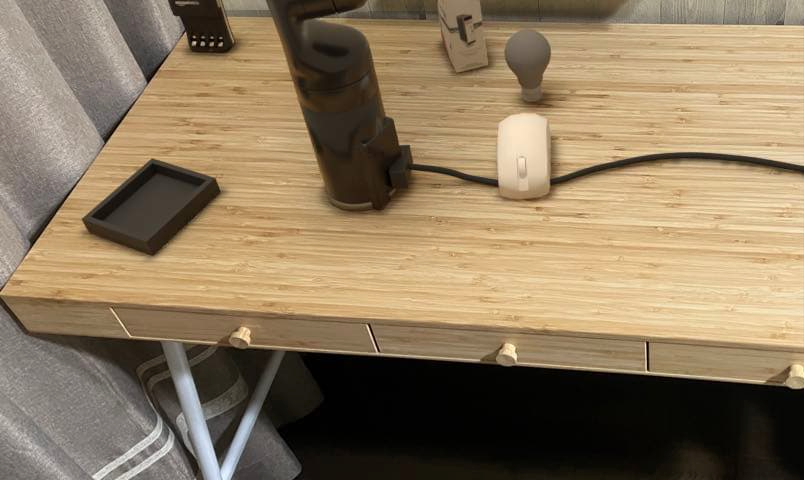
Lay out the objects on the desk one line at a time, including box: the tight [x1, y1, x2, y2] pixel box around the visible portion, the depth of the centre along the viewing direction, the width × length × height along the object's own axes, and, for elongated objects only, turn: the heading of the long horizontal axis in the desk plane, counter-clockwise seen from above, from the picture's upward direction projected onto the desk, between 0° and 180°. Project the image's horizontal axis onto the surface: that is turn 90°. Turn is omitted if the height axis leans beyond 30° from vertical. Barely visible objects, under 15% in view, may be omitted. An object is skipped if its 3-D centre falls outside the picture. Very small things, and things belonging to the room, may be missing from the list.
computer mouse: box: [496, 112, 552, 200], centre depth 123 cm, size 6×13×6 cm, turn 0°
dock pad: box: [81, 157, 221, 256], centre depth 124 cm, size 11×13×2 cm
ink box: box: [435, 0, 489, 73], centre depth 139 cm, size 9×5×12 cm, turn 17°
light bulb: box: [503, 28, 552, 102], centre depth 131 cm, size 6×6×10 cm
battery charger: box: [167, 0, 236, 53], centre depth 146 cm, size 7×4×11 cm, turn 80°
